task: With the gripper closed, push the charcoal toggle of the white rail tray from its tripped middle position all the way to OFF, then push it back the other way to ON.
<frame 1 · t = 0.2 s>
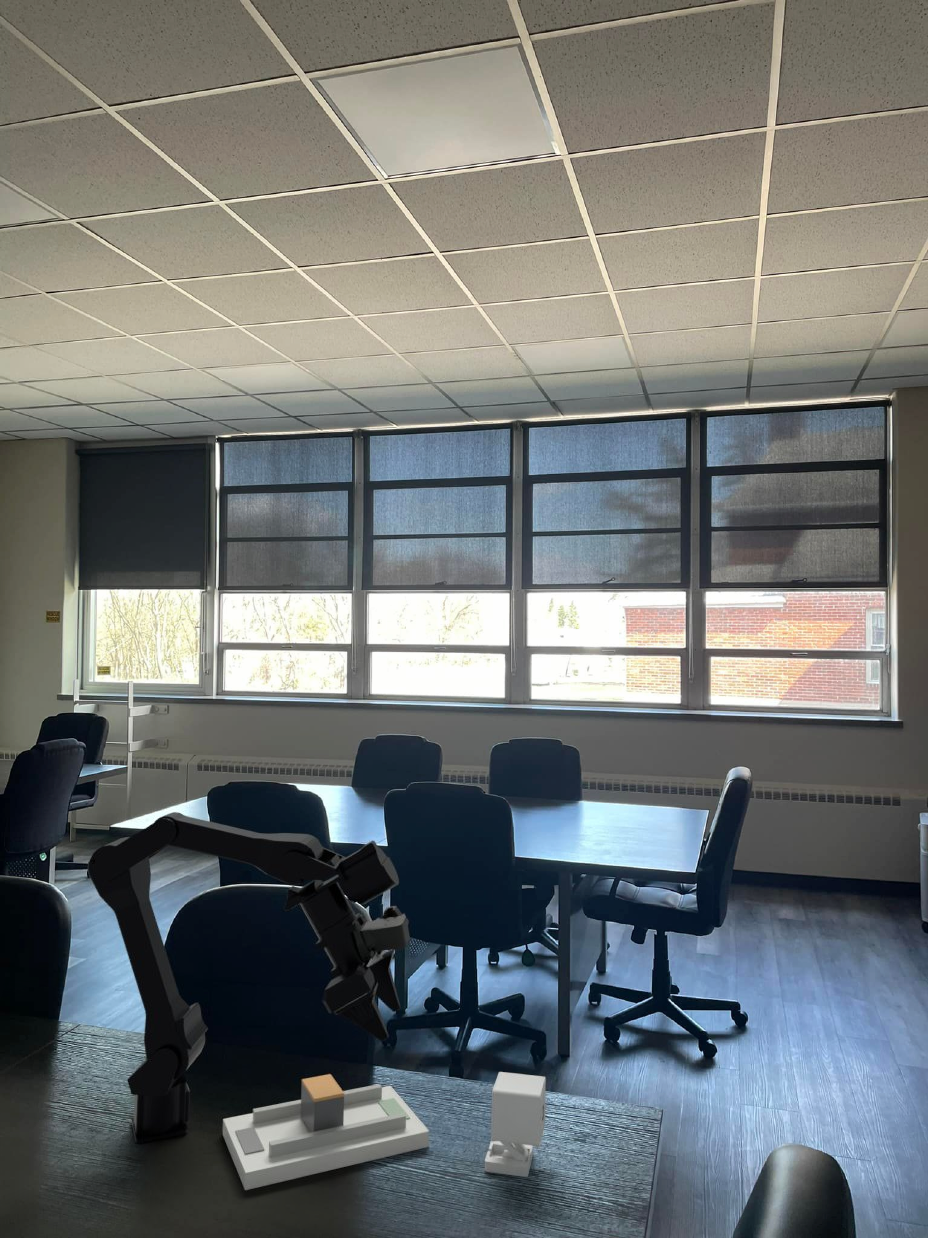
hand: (391, 1024, 119), 15 cm above the table, tool tilted 30°, fingers open, 9 cm apart
white rail tray: (324, 1140, 117), on the table
security camera: (515, 1165, 112), on the table
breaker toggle: (322, 1105, 117), point 5 cm above the table, slide at 4.0 cm
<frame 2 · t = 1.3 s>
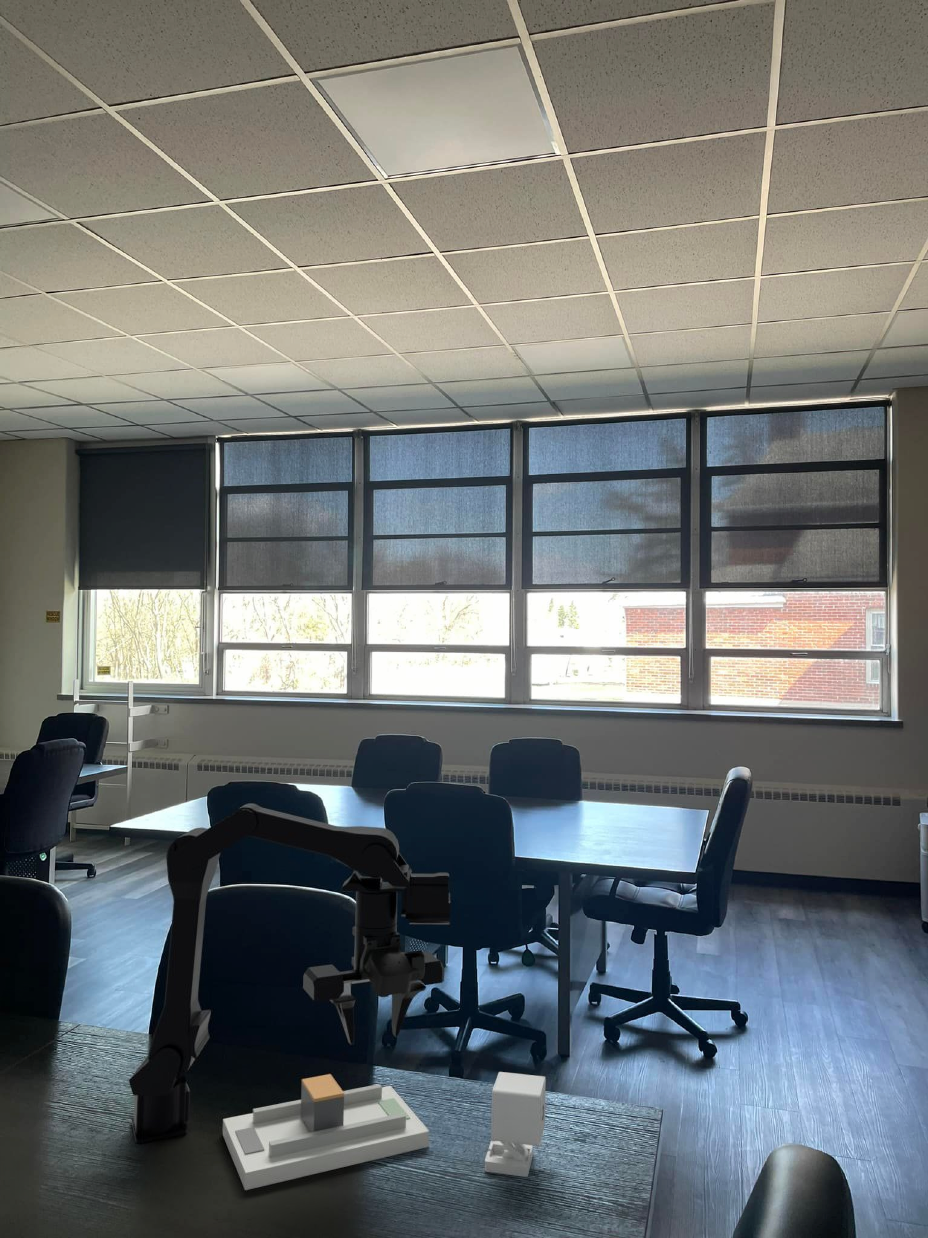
hand: (373, 1039, 120), 12 cm above the table, tool pointing down, fingers open, 6 cm apart
nothing on the table moved.
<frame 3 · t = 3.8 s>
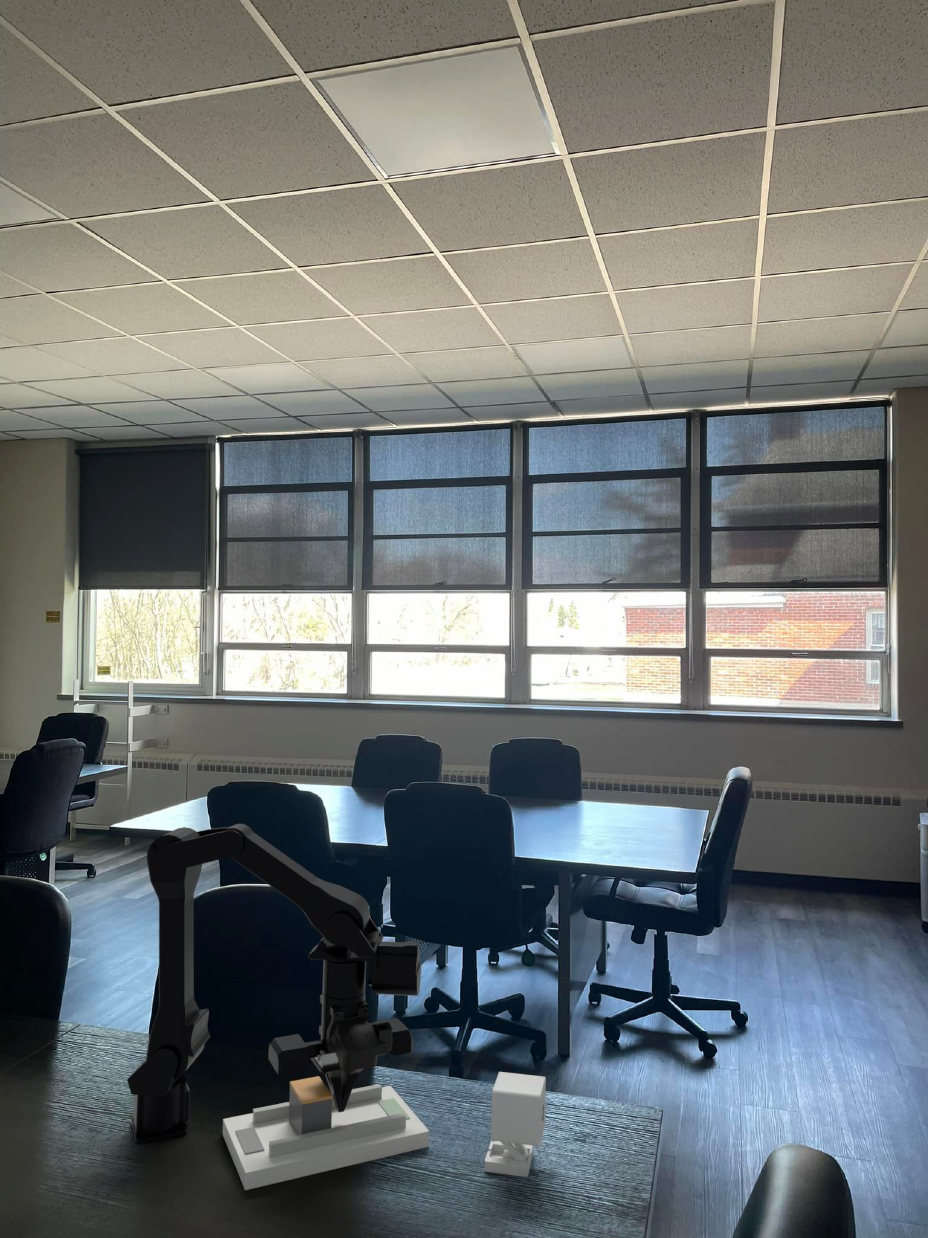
hand: (340, 1111, 118), 3 cm above the table, tool pointing down, fingers closed
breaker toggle: (310, 1107, 116), point 5 cm above the table, slide at 2.4 cm, touching gripper
everything else where it was.
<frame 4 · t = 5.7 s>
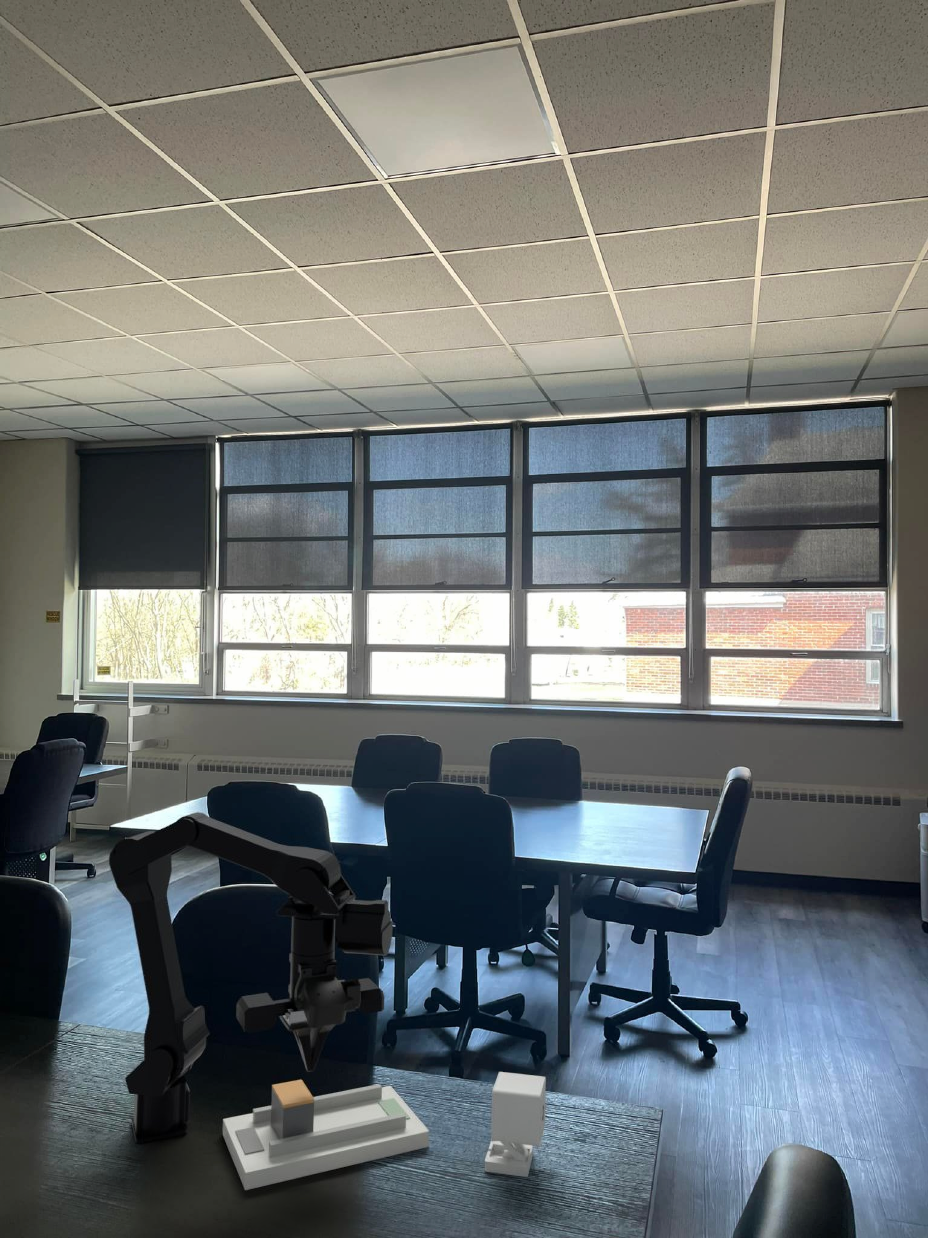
hand: (309, 1070, 116), 9 cm above the table, tool pointing down, fingers closed
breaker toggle: (292, 1111, 115), point 5 cm above the table, slide at 0.0 cm
everything else where it was.
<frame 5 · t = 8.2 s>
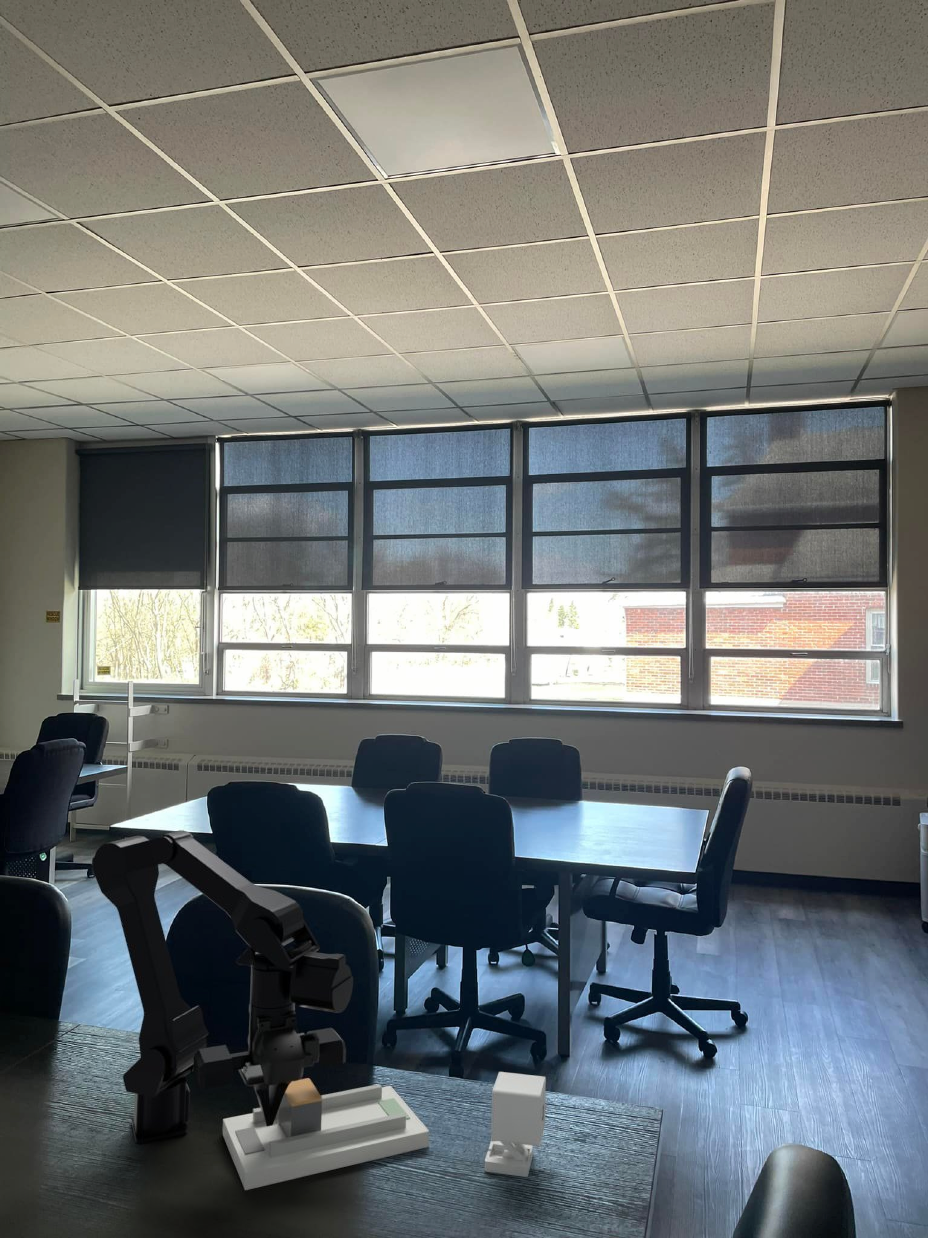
hand: (268, 1125, 114), 4 cm above the table, tool pointing down, fingers closed
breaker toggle: (300, 1109, 116), point 5 cm above the table, slide at 1.0 cm, touching gripper
everything else where it was.
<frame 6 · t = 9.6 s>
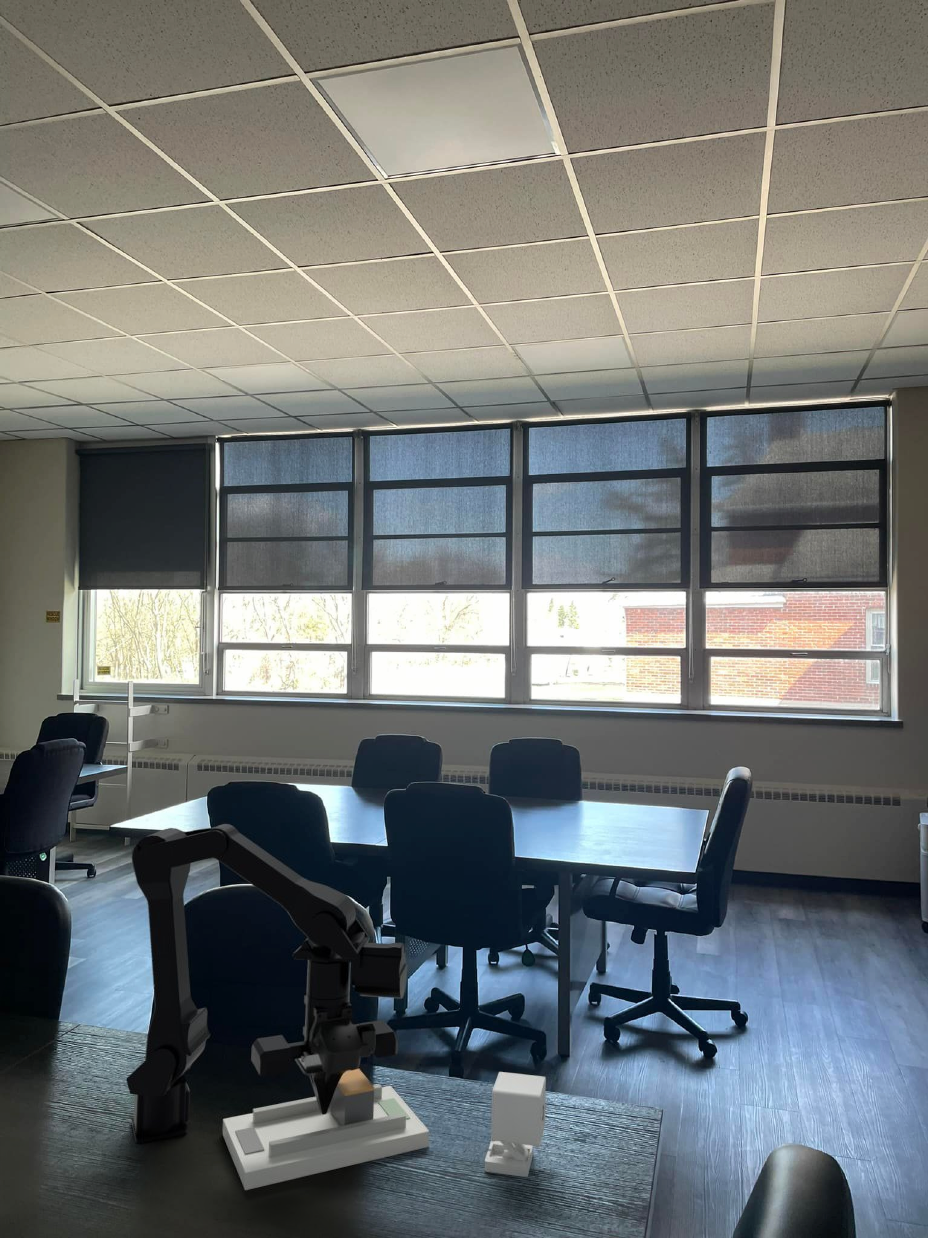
hand: (323, 1113, 117), 4 cm above the table, tool pointing down, fingers closed
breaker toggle: (351, 1099, 119), point 5 cm above the table, slide at 8.1 cm, touching gripper
everything else where it was.
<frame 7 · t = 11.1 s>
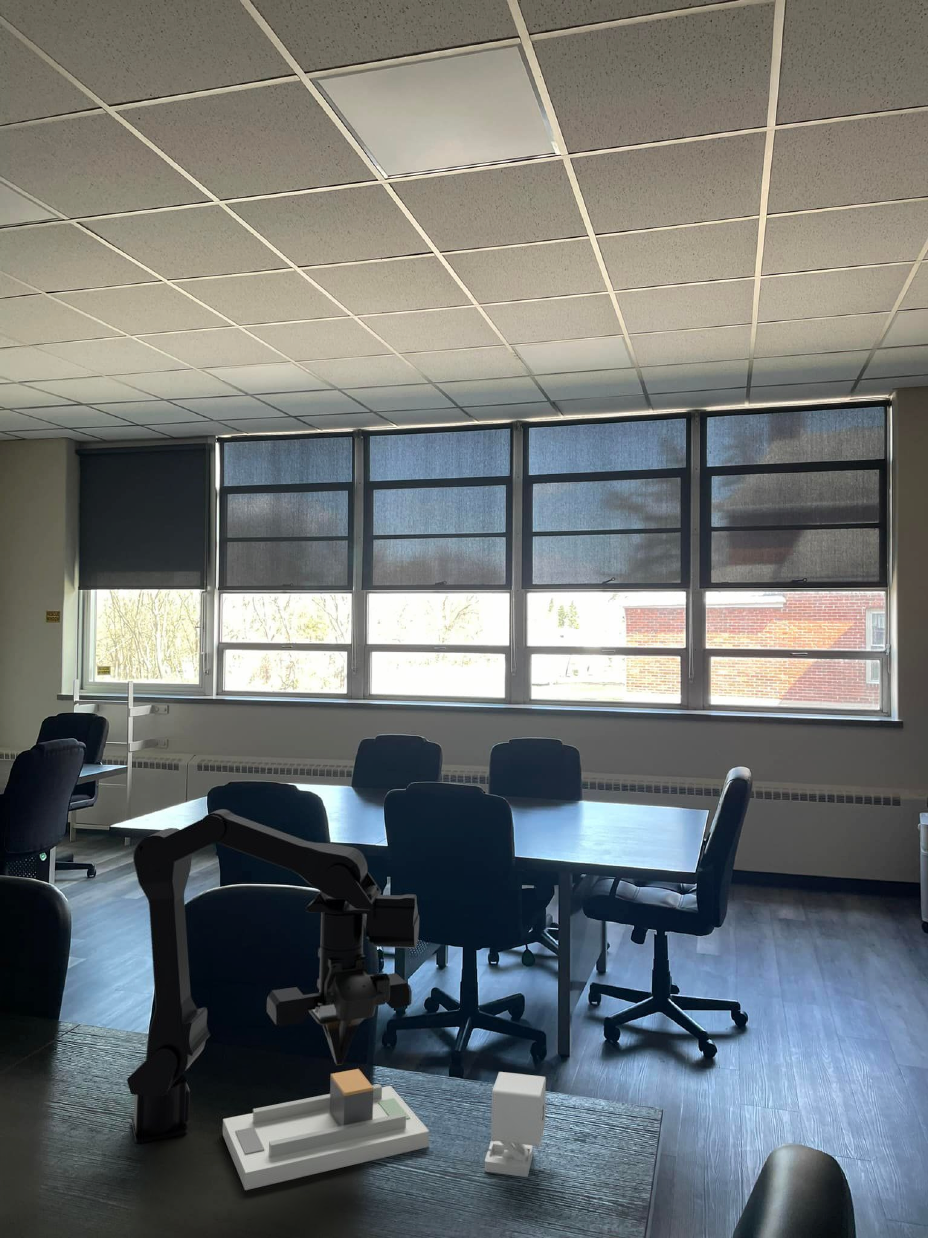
hand: (338, 1063, 118), 10 cm above the table, tool pointing down, fingers closed
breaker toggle: (351, 1099, 119), point 5 cm above the table, slide at 8.0 cm
everything else where it was.
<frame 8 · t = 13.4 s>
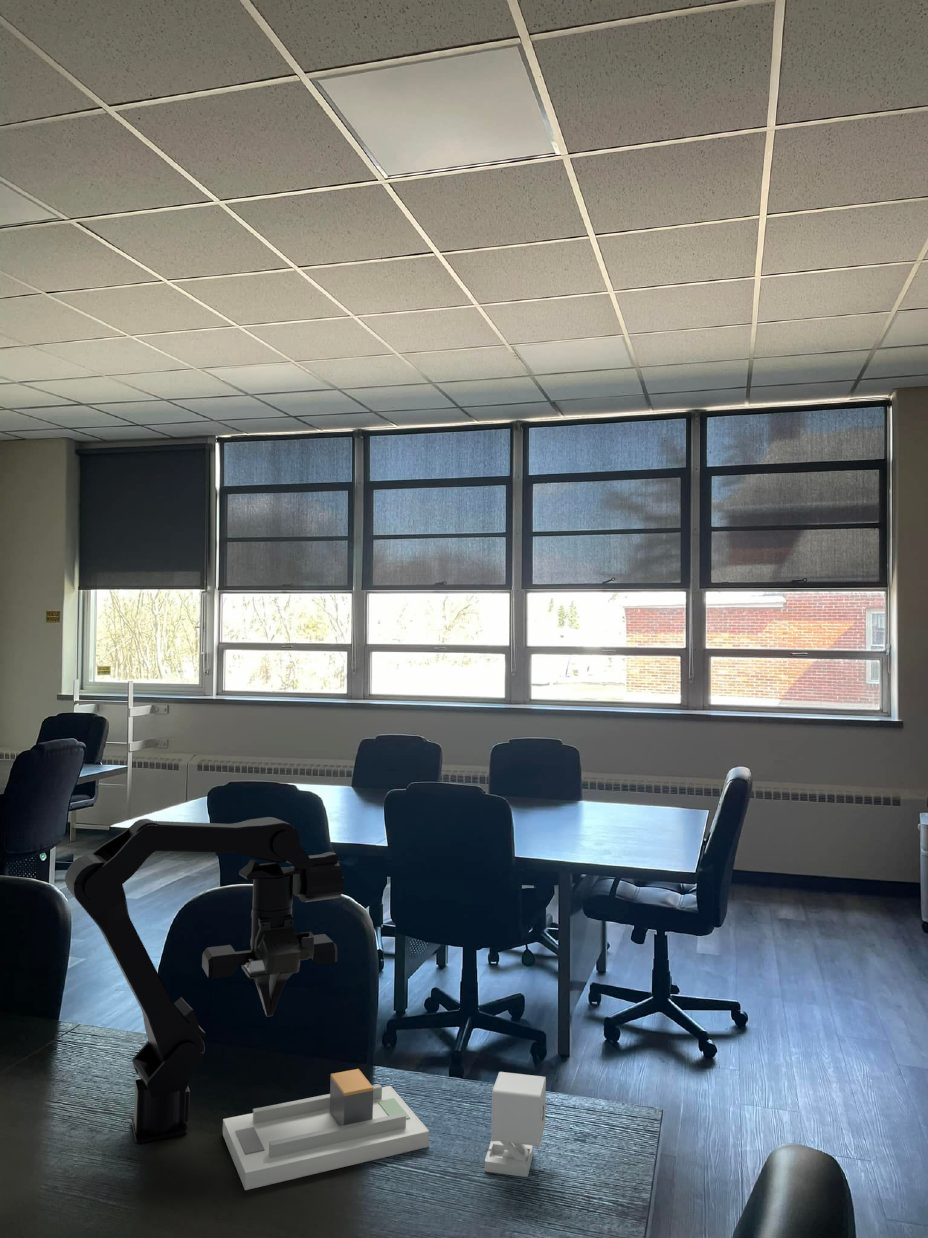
hand: (268, 1015, 128), 12 cm above the table, tool pointing down, fingers closed
nothing on the table moved.
at the end: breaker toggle slide at 8.0 cm; security camera moved 0.2 cm from its start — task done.
